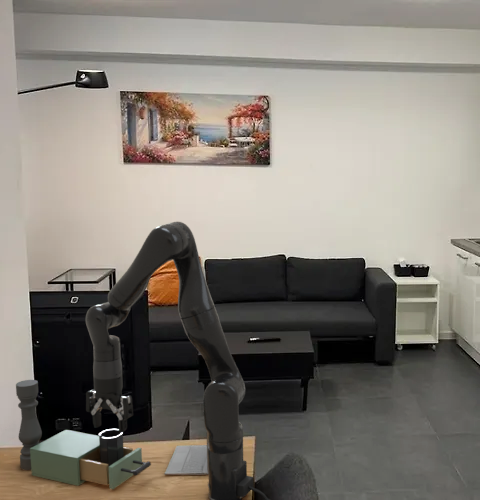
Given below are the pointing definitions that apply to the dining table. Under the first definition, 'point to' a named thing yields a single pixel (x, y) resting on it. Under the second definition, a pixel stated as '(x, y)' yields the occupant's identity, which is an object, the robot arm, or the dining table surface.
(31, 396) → the candle holder
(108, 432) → the tumbler
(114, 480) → the drawer
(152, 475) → the dining table surface
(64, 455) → the cabinet
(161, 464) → the dining table surface
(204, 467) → the laptop
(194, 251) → the robot arm
